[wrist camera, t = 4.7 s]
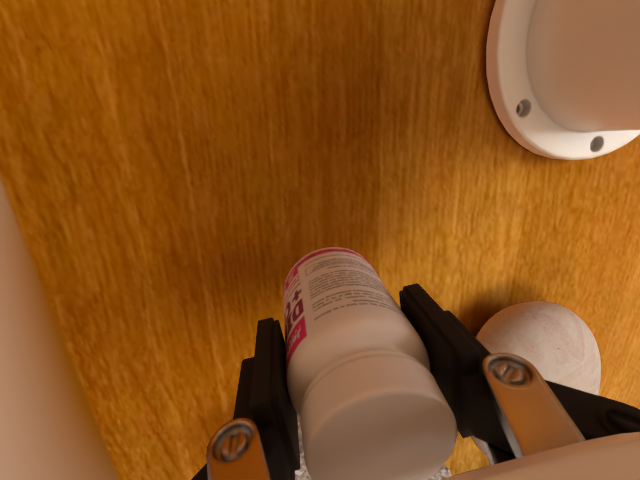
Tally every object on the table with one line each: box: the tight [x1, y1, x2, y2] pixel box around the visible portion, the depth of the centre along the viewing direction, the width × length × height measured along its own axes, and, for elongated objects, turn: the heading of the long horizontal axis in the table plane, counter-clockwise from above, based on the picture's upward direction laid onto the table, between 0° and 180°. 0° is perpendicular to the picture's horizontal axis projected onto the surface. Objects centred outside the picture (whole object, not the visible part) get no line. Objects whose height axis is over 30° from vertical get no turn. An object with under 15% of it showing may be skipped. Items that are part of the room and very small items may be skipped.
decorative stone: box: [471, 301, 601, 454], centre depth 21 cm, size 13×9×5 cm
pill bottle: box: [284, 247, 457, 480], centre depth 11 cm, size 5×5×8 cm
